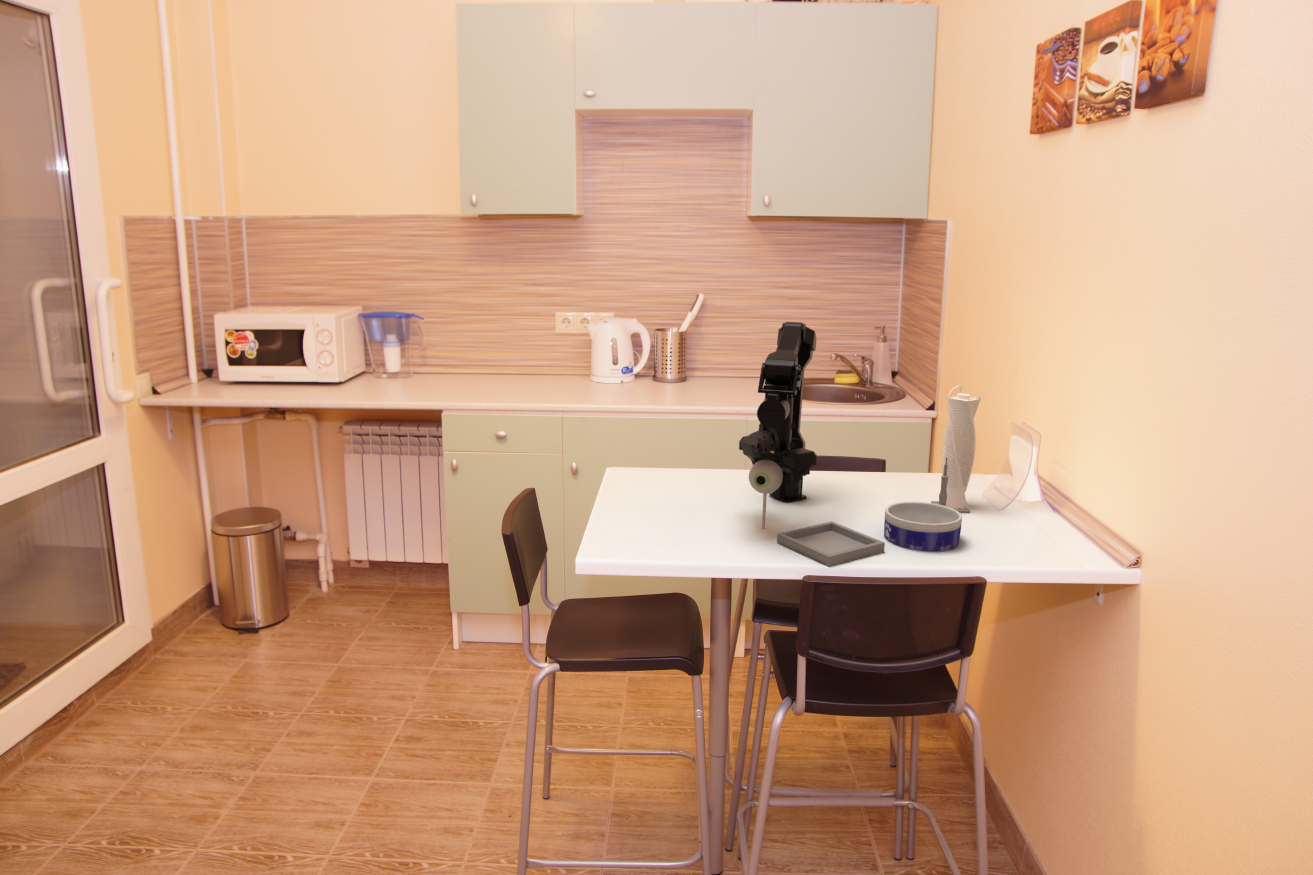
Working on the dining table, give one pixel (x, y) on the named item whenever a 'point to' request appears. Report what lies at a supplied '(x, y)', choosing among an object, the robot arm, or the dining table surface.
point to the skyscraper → (958, 451)
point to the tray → (830, 543)
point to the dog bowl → (922, 526)
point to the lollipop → (765, 480)
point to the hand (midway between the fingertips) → (775, 489)
